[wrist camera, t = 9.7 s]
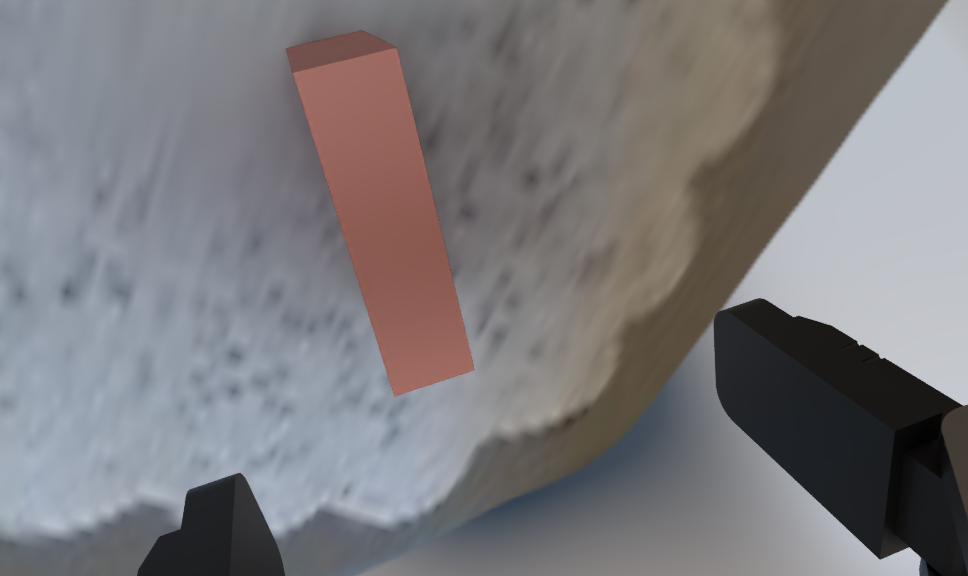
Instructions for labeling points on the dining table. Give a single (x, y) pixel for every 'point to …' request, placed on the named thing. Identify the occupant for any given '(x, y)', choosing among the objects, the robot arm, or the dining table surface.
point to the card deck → (384, 204)
